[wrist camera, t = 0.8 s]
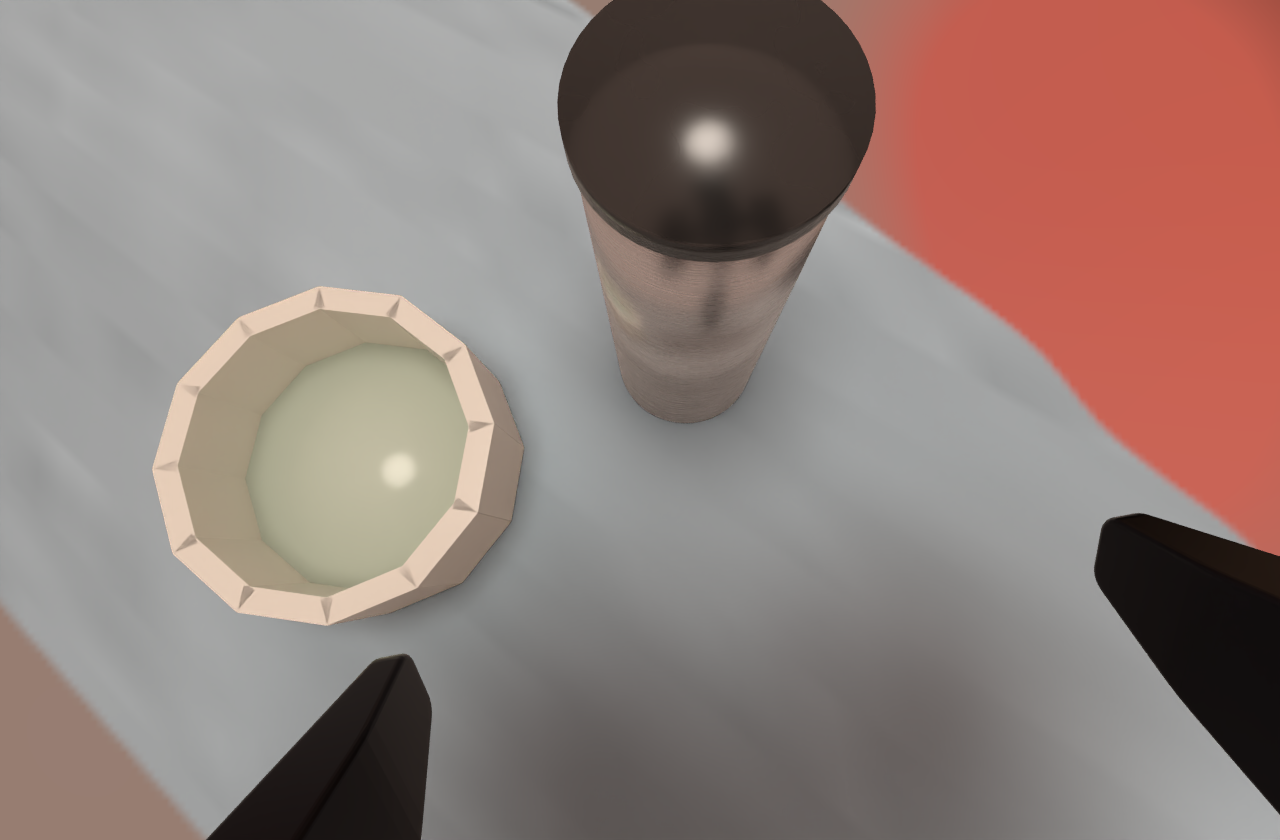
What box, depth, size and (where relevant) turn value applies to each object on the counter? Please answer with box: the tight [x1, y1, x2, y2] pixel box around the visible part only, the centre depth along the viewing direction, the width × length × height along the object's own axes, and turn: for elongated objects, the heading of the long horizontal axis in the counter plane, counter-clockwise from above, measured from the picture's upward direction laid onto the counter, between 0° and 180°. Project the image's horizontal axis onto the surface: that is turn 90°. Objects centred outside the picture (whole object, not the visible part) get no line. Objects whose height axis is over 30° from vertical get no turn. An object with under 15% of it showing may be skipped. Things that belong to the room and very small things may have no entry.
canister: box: [558, 0, 876, 423], centre depth 16 cm, size 5×5×13 cm
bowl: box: [152, 286, 524, 626], centre depth 20 cm, size 9×9×4 cm
